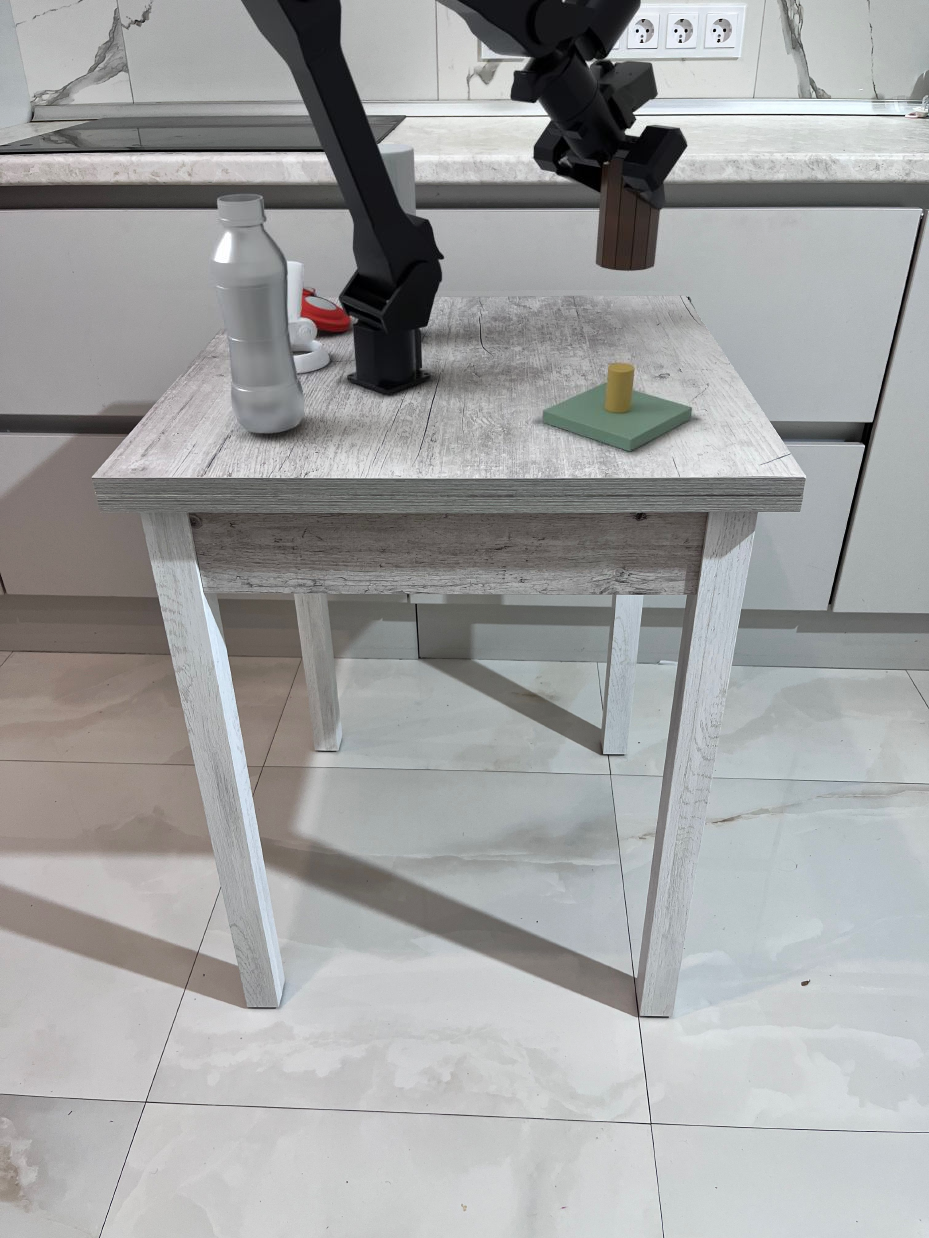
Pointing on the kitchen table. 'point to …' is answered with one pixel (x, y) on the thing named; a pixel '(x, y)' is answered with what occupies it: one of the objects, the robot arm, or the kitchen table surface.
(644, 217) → the sleeve
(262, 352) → the plastic bottle
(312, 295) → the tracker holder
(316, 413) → the kitchen table surface
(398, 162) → the spray can
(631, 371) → the peg stand
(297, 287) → the white upright ring-based piece
